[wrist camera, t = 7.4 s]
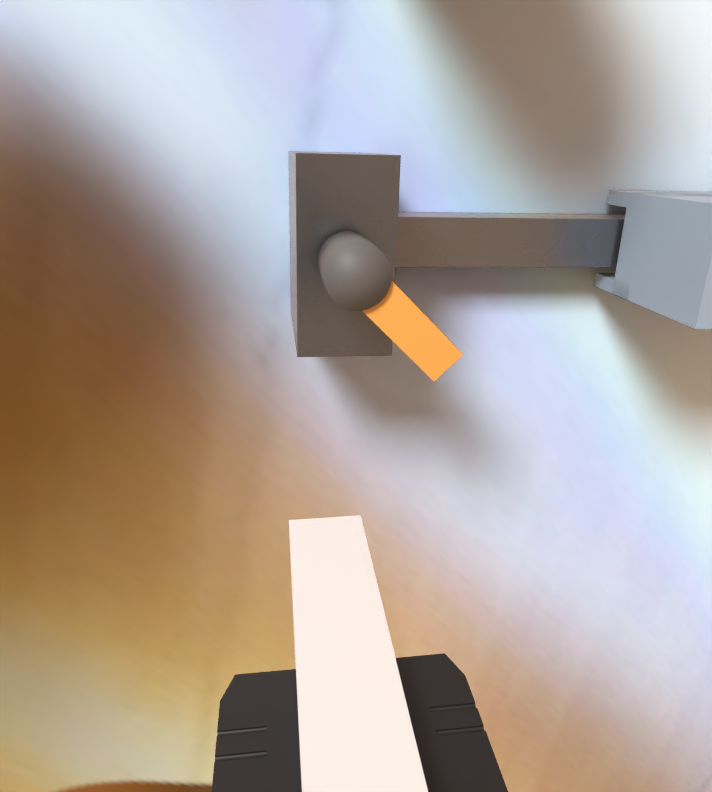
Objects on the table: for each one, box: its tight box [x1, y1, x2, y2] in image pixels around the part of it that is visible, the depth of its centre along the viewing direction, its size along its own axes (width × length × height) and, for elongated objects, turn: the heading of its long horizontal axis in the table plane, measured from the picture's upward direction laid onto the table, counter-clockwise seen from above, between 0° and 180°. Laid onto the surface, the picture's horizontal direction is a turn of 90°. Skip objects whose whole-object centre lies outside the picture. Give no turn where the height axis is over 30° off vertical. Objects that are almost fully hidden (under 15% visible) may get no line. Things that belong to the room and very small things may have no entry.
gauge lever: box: [317, 231, 463, 381], centre depth 25 cm, size 2×6×3 cm, turn 44°
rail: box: [396, 212, 625, 267], centre depth 33 cm, size 19×2×2 cm, turn 89°
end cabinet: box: [289, 151, 401, 357], centre depth 29 cm, size 4×8×8 cm, turn 179°
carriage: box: [594, 190, 712, 329], centre depth 30 cm, size 6×5×9 cm
